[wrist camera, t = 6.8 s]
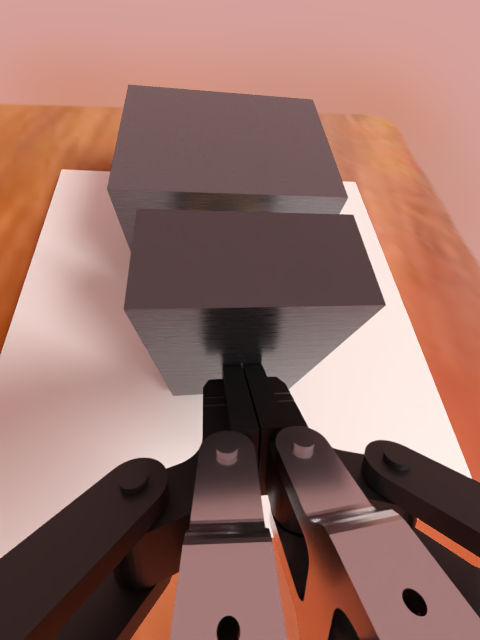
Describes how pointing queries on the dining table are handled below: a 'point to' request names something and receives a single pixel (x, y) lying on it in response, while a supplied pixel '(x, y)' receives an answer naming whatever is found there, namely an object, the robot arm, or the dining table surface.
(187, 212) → the shaft
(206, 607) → the robot arm
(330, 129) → the dining table surface
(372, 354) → the base board
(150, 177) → the block
